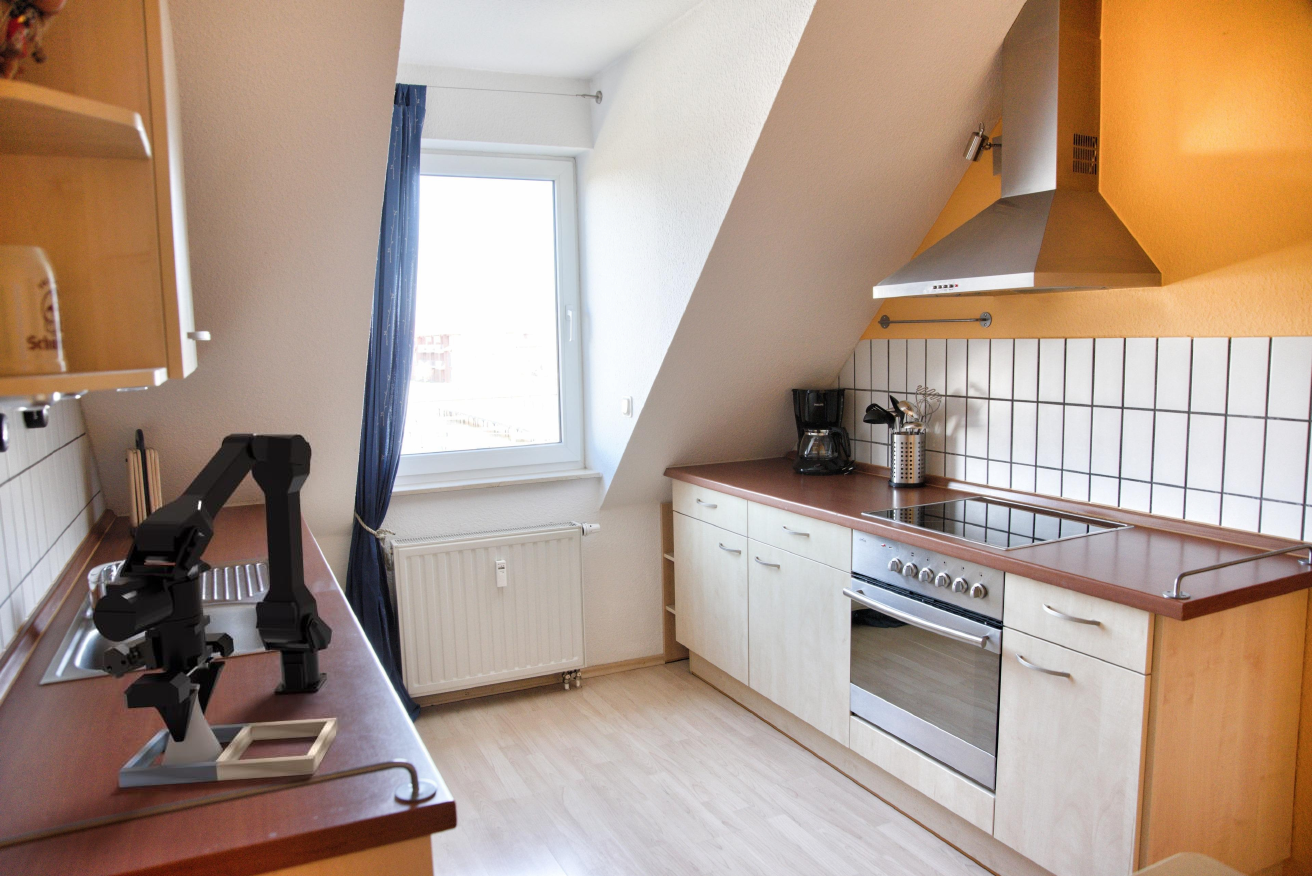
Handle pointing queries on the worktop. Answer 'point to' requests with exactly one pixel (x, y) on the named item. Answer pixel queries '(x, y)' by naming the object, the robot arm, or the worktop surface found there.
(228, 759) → the caddy
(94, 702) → the worktop surface
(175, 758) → the flask
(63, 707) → the worktop surface
